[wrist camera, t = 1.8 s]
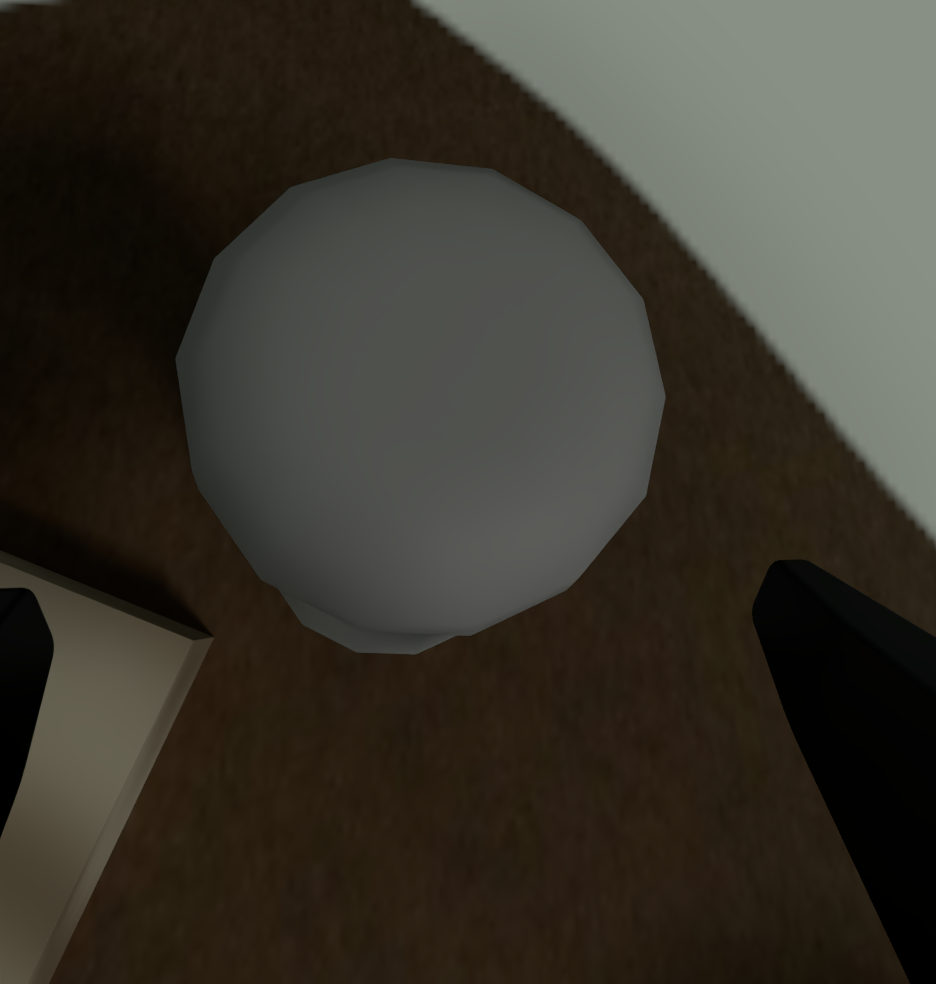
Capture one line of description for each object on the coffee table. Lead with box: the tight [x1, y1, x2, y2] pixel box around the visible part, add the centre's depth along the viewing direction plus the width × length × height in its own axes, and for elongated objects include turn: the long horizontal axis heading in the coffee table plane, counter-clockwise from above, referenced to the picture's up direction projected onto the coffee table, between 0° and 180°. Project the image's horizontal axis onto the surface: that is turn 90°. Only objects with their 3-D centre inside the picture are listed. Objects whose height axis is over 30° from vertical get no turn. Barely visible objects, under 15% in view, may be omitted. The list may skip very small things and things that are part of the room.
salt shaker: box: [175, 158, 665, 654], centre depth 12 cm, size 6×6×13 cm
